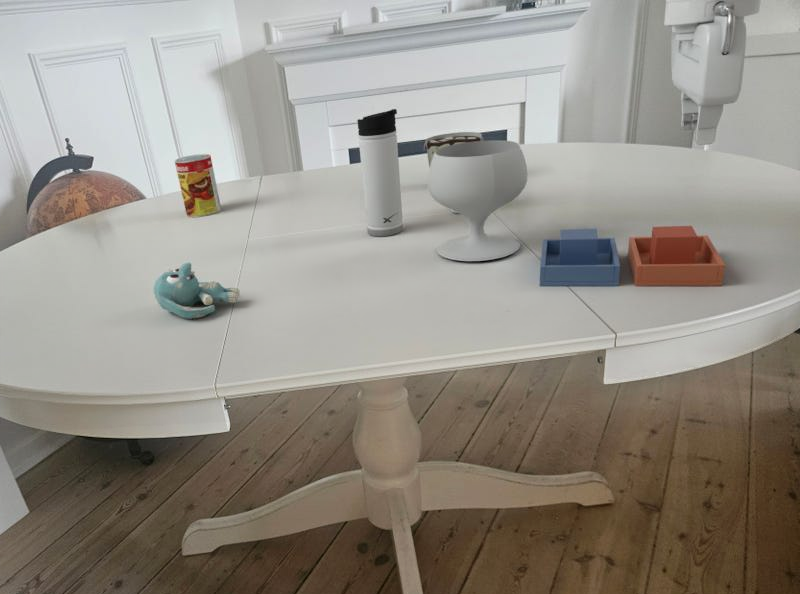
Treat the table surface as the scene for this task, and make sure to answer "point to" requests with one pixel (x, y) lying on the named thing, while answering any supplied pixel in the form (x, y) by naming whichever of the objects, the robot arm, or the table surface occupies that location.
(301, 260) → the table surface
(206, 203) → the canned food
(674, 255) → the rust block
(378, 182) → the travel mug
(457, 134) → the food container
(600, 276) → the slate tray
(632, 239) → the rust tray
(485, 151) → the chalice
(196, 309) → the stuffed animal
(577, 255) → the slate block
